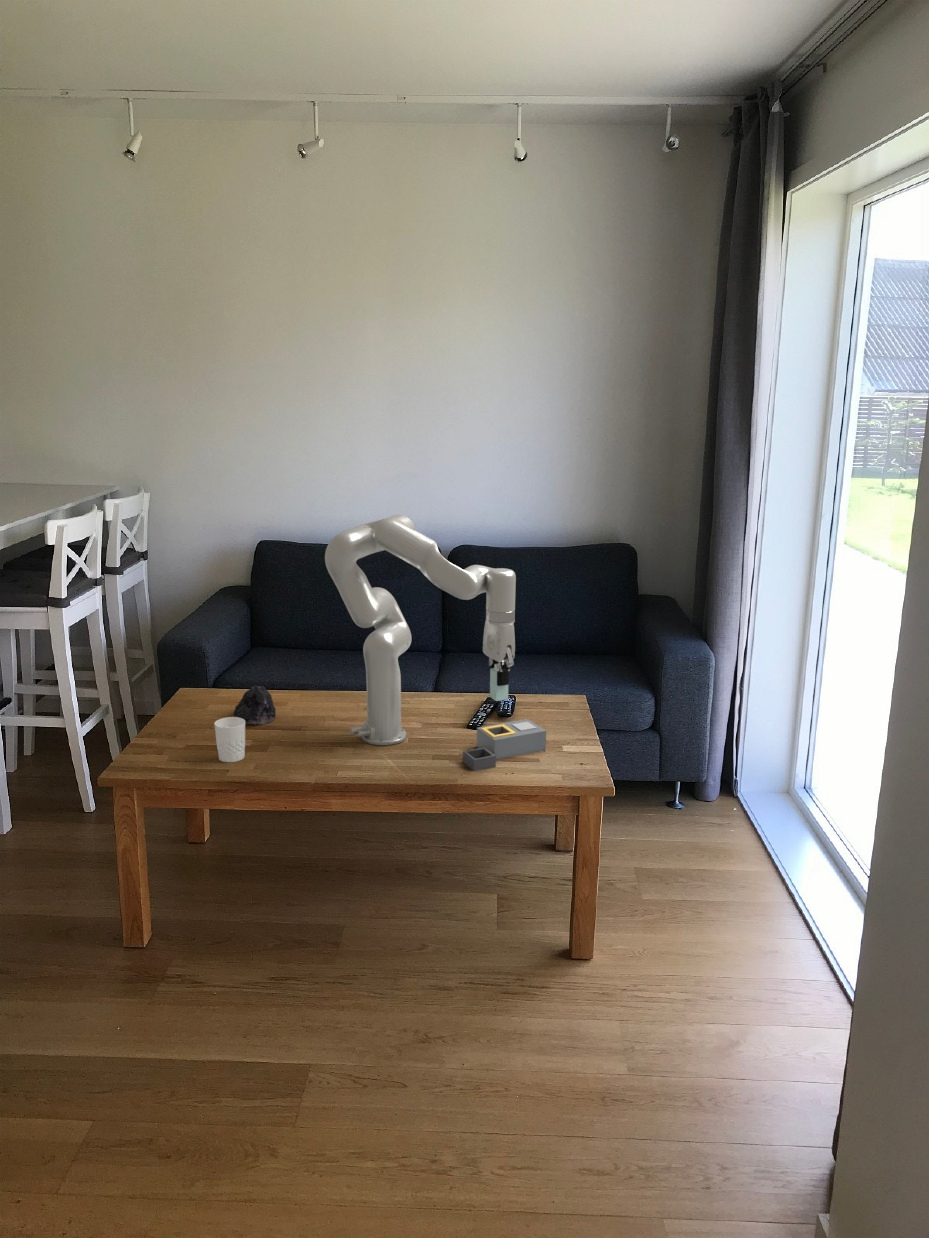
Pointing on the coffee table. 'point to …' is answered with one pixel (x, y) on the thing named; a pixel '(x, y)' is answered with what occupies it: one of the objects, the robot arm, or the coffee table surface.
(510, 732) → the port panel
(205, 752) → the coffee table surface
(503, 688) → the plug
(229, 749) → the white cup
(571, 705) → the coffee table surface
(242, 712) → the crystal cluster
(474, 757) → the holster
